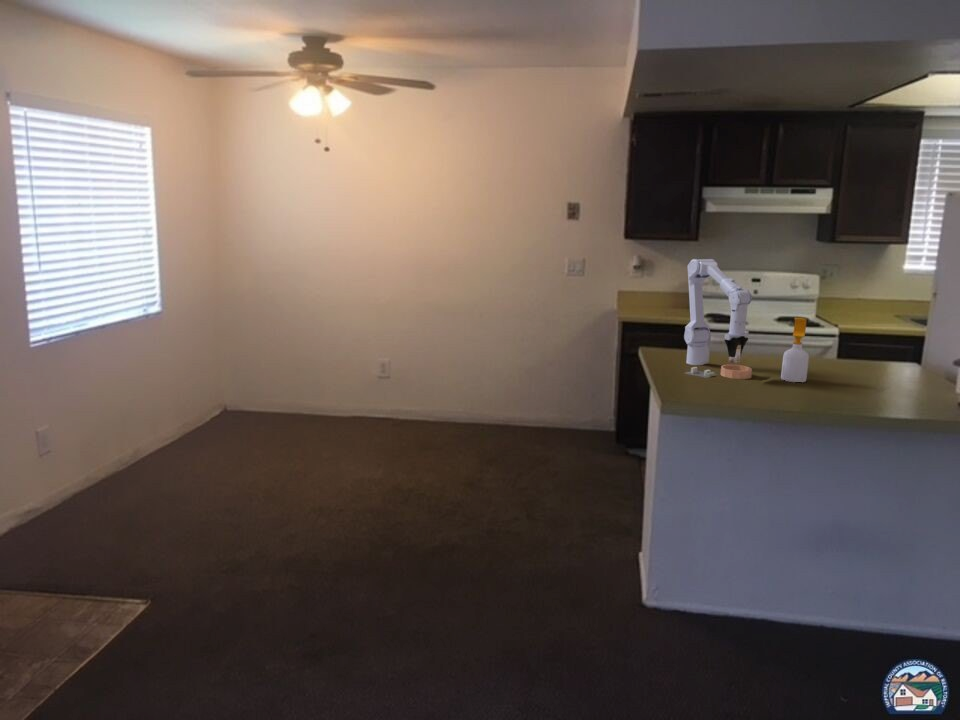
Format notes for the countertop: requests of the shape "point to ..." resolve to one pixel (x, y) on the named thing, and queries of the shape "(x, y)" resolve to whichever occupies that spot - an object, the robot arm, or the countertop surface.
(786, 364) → the soap bottle
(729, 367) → the cup
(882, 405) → the countertop surface
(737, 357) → the battery cell
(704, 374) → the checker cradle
